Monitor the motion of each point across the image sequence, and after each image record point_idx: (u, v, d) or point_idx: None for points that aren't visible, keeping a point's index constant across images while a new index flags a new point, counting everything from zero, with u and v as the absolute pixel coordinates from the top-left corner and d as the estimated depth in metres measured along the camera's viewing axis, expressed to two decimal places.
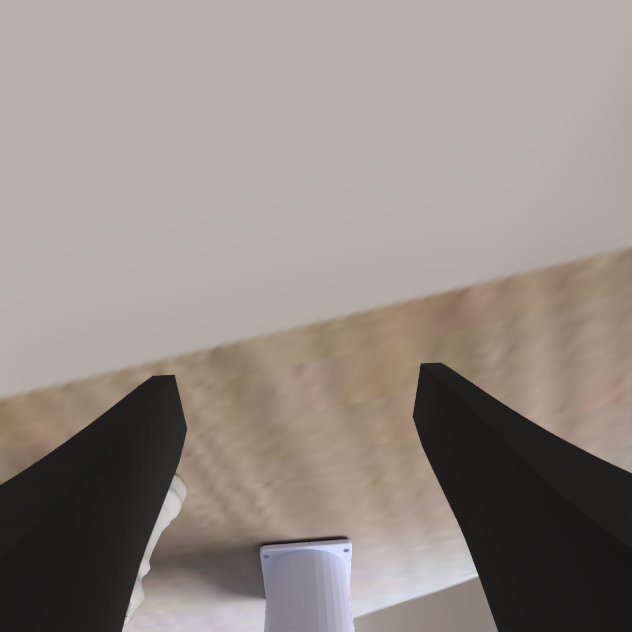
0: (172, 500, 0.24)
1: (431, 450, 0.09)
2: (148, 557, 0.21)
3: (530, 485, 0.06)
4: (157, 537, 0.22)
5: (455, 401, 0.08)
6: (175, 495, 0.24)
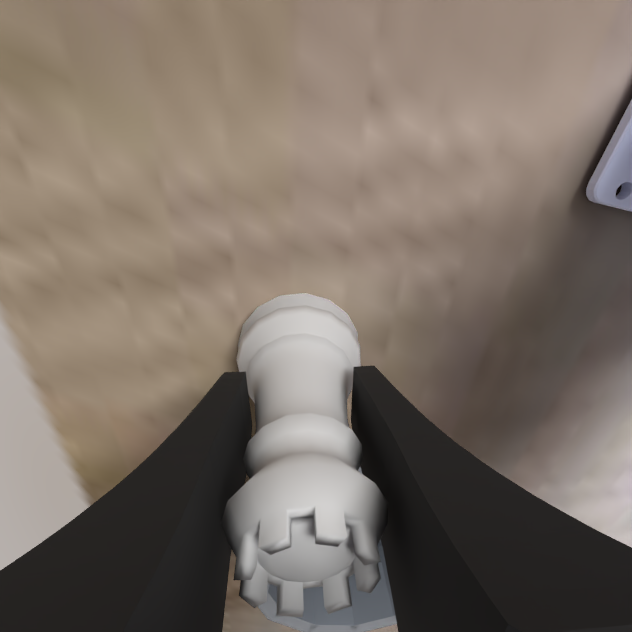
0: (287, 319, 0.10)
1: None
2: (313, 410, 0.08)
3: (413, 493, 0.05)
4: (315, 375, 0.09)
5: (372, 406, 0.08)
6: (286, 312, 0.11)
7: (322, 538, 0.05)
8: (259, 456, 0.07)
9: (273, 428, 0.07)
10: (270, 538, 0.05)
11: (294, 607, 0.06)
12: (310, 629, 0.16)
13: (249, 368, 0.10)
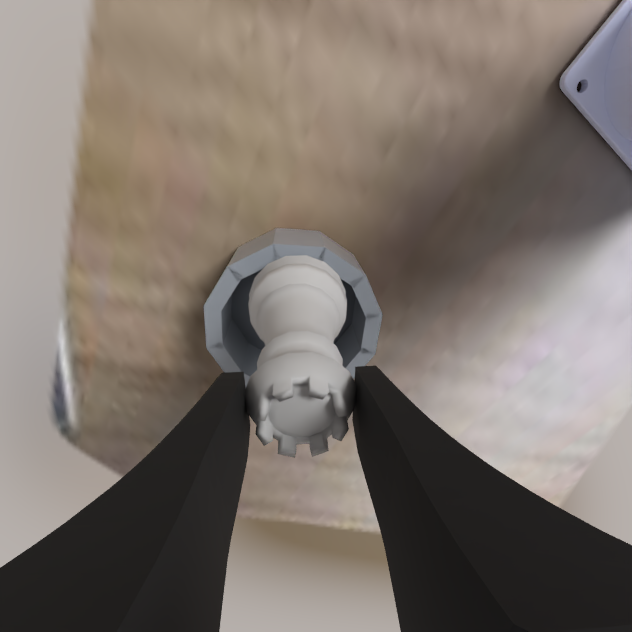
0: (292, 273, 0.13)
1: (362, 454, 0.09)
2: (309, 331, 0.11)
3: (416, 493, 0.05)
4: (312, 312, 0.12)
5: (374, 406, 0.08)
6: (291, 267, 0.14)
7: (313, 392, 0.08)
8: (270, 357, 0.10)
9: (280, 339, 0.10)
10: (280, 391, 0.08)
11: (289, 448, 0.09)
12: None
13: (260, 308, 0.13)
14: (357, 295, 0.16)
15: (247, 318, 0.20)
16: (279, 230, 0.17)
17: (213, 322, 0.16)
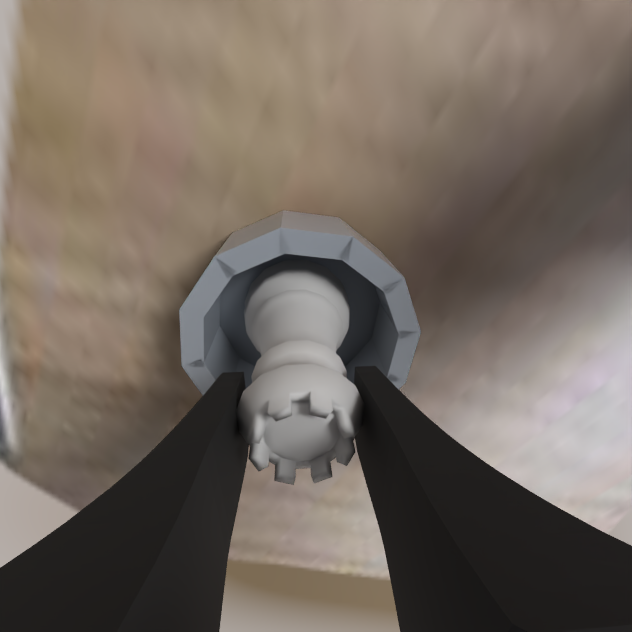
0: (290, 278, 0.12)
1: (362, 454, 0.09)
2: (309, 340, 0.10)
3: (416, 493, 0.05)
4: (312, 320, 0.11)
5: (373, 406, 0.08)
6: (289, 272, 0.13)
7: (314, 410, 0.07)
8: (266, 370, 0.09)
9: (278, 349, 0.09)
10: (276, 408, 0.07)
11: (288, 474, 0.08)
12: None
13: (256, 316, 0.12)
14: (390, 305, 0.12)
15: (239, 326, 0.15)
16: (287, 213, 0.13)
17: (192, 332, 0.12)
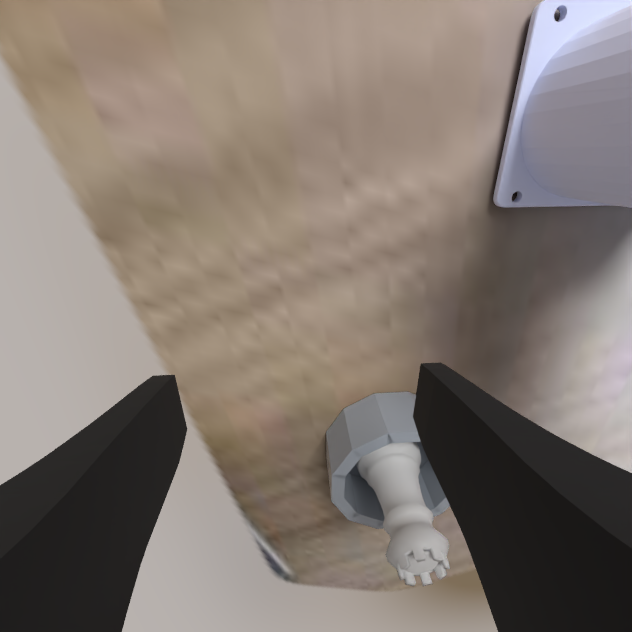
0: None
1: (431, 450, 0.09)
2: (400, 502, 0.18)
3: (530, 485, 0.06)
4: (395, 480, 0.19)
5: (454, 401, 0.08)
6: None
7: (418, 560, 0.16)
8: (389, 530, 0.18)
9: (388, 518, 0.18)
10: (402, 565, 0.16)
11: (427, 581, 0.17)
12: (379, 525, 0.23)
13: (367, 480, 0.21)
14: None
15: None
16: (347, 413, 0.22)
17: (343, 505, 0.21)
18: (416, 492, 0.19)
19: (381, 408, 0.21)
